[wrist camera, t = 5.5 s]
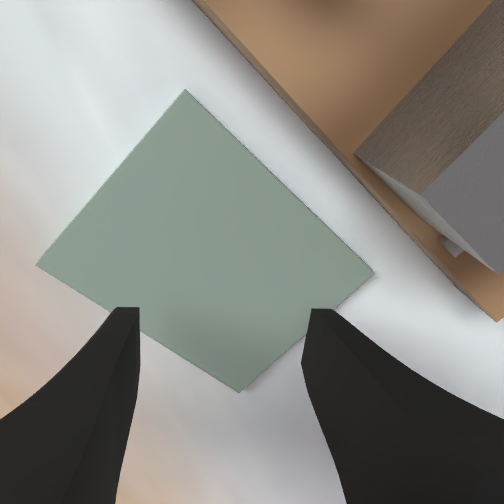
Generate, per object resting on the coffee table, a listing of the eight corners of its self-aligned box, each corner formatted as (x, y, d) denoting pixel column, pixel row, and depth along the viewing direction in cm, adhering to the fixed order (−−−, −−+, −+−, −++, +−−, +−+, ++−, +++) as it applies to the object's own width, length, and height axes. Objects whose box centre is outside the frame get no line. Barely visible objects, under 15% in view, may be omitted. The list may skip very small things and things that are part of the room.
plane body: (576, 192, 17) (734, 249, 12) (458, 289, 18) (558, 377, 14) (277, -296, 10) (367, -634, 5) (119, -79, 11) (69, -176, 6)
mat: (370, 268, 17) (374, 272, 17) (237, 386, 19) (239, 393, 19) (185, 88, 13) (184, 90, 13) (39, 260, 15) (35, 265, 15)
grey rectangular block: (553, 80, 12) (704, 93, 9) (416, 215, 14) (498, 274, 10) (498, -5, 11) (646, -31, 7) (352, 152, 12) (420, 195, 9)
